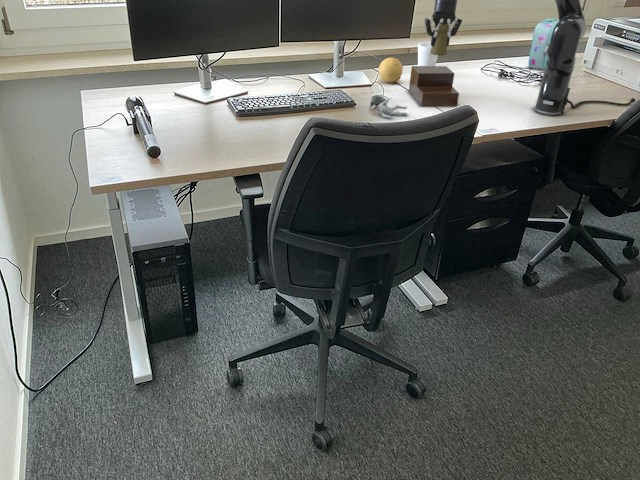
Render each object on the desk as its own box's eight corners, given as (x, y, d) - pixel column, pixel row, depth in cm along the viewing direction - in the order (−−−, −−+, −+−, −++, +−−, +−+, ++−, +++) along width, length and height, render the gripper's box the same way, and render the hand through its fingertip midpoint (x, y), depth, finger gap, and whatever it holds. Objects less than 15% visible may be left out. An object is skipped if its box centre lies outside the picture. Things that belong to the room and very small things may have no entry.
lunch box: (546, 73, 246) (559, 24, 234) (523, 69, 250) (535, 20, 238) (560, 61, 265) (572, 15, 253) (538, 58, 269) (550, 12, 257)
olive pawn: (448, 53, 202) (454, 22, 196) (443, 56, 198) (448, 24, 192) (433, 50, 205) (438, 19, 199) (427, 53, 200) (432, 22, 194)
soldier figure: (407, 121, 191) (377, 112, 187) (399, 126, 196) (370, 118, 191) (408, 101, 193) (378, 92, 189) (400, 107, 198) (371, 98, 193)
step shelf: (456, 106, 204) (461, 79, 199) (420, 106, 202) (424, 79, 197) (442, 91, 219) (446, 66, 213) (408, 91, 217) (411, 66, 212)
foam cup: (420, 71, 242) (424, 41, 235) (439, 75, 238) (444, 44, 231) (410, 75, 236) (414, 44, 228) (429, 80, 231) (434, 48, 224)
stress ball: (390, 86, 221) (392, 62, 216) (372, 81, 227) (374, 56, 222) (406, 82, 227) (409, 58, 221) (388, 77, 233) (391, 53, 227)
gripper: (462, -5, 195) (454, 45, 204) (424, -5, 193) (417, 45, 202) (469, -1, 189) (461, 50, 198) (430, -2, 187) (423, 50, 196)
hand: (439, 47), depth 200 cm, fingers closed on olive pawn, 3 cm apart
